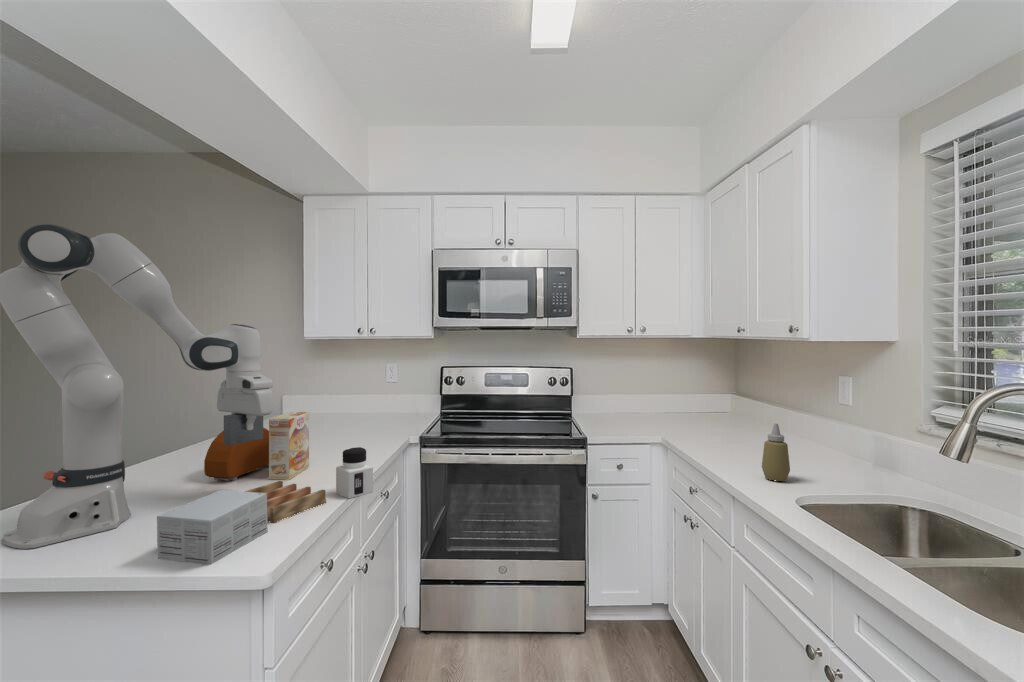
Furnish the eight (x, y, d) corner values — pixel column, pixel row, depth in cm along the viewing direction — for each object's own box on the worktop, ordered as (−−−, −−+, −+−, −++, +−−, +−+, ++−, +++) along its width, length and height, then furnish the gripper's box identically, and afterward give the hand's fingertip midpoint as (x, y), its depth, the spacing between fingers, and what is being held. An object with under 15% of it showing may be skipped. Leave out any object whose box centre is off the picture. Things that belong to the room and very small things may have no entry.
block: (230, 445, 134) (230, 416, 134) (223, 444, 136) (223, 415, 135) (263, 438, 143) (263, 411, 143) (256, 437, 144) (256, 410, 144)
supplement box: (219, 528, 116) (219, 489, 116) (268, 532, 113) (268, 492, 113) (155, 560, 99) (154, 514, 99) (210, 566, 97) (210, 519, 97)
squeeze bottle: (790, 478, 157) (791, 423, 157) (789, 485, 150) (789, 427, 150) (762, 474, 161) (763, 420, 161) (760, 480, 154) (760, 424, 154)
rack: (274, 522, 119) (274, 508, 119) (225, 509, 127) (225, 496, 127) (326, 502, 133) (326, 490, 133) (279, 492, 142) (279, 480, 142)
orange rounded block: (256, 463, 174) (256, 417, 174) (278, 464, 172) (278, 417, 172) (202, 482, 151) (202, 429, 151) (227, 484, 149) (227, 430, 149)
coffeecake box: (290, 480, 154) (289, 418, 154) (267, 479, 154) (267, 418, 154) (310, 467, 169) (310, 411, 169) (289, 467, 169) (289, 411, 169)
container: (373, 492, 142) (373, 448, 142) (348, 499, 136) (348, 453, 136) (359, 487, 147) (359, 444, 147) (335, 493, 141) (335, 448, 141)
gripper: (210, 380, 141) (210, 427, 141) (256, 383, 132) (256, 434, 132) (231, 378, 147) (231, 424, 147) (277, 381, 137) (277, 430, 137)
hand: (243, 429), depth 139 cm, fingers closed on block, 3 cm apart
